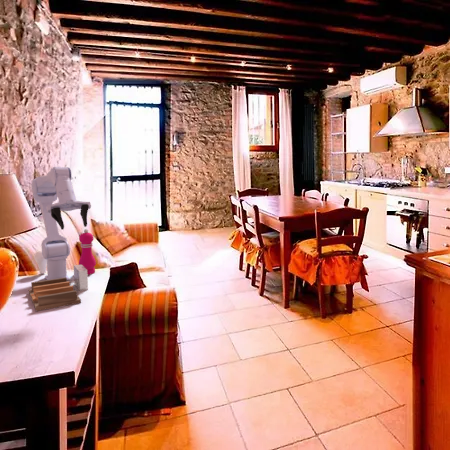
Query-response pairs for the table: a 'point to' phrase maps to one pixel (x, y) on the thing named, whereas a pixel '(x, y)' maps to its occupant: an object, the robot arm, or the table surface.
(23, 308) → the table surface
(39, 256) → the lightbulb
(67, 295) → the rack
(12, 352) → the table surface
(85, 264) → the pepper mill
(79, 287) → the wooden block
